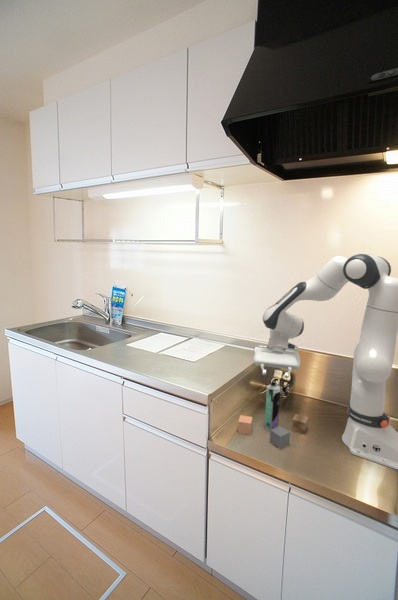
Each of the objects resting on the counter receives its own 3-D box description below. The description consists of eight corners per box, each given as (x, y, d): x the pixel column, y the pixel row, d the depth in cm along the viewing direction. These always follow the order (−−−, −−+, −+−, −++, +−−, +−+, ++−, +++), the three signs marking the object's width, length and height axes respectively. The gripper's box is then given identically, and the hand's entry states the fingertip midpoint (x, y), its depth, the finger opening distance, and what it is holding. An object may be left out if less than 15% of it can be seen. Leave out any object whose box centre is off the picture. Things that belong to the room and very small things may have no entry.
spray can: (278, 431, 121) (281, 385, 118) (264, 429, 122) (267, 383, 119) (277, 424, 127) (280, 379, 123) (264, 422, 128) (266, 378, 124)
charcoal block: (289, 444, 113) (289, 432, 113) (280, 449, 111) (280, 436, 110) (278, 437, 117) (279, 426, 117) (269, 442, 115) (270, 430, 114)
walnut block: (307, 428, 124) (308, 417, 123) (304, 434, 119) (305, 423, 119) (295, 424, 126) (295, 414, 125) (292, 430, 122) (292, 419, 121)
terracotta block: (251, 428, 124) (252, 417, 123) (250, 435, 119) (251, 423, 118) (239, 426, 125) (240, 415, 124) (238, 433, 120) (238, 421, 119)
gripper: (254, 341, 138) (250, 369, 130) (301, 346, 131) (300, 376, 124) (255, 348, 142) (251, 375, 135) (300, 353, 136) (299, 382, 128)
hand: (275, 375), depth 129 cm, fingers open, 8 cm apart
